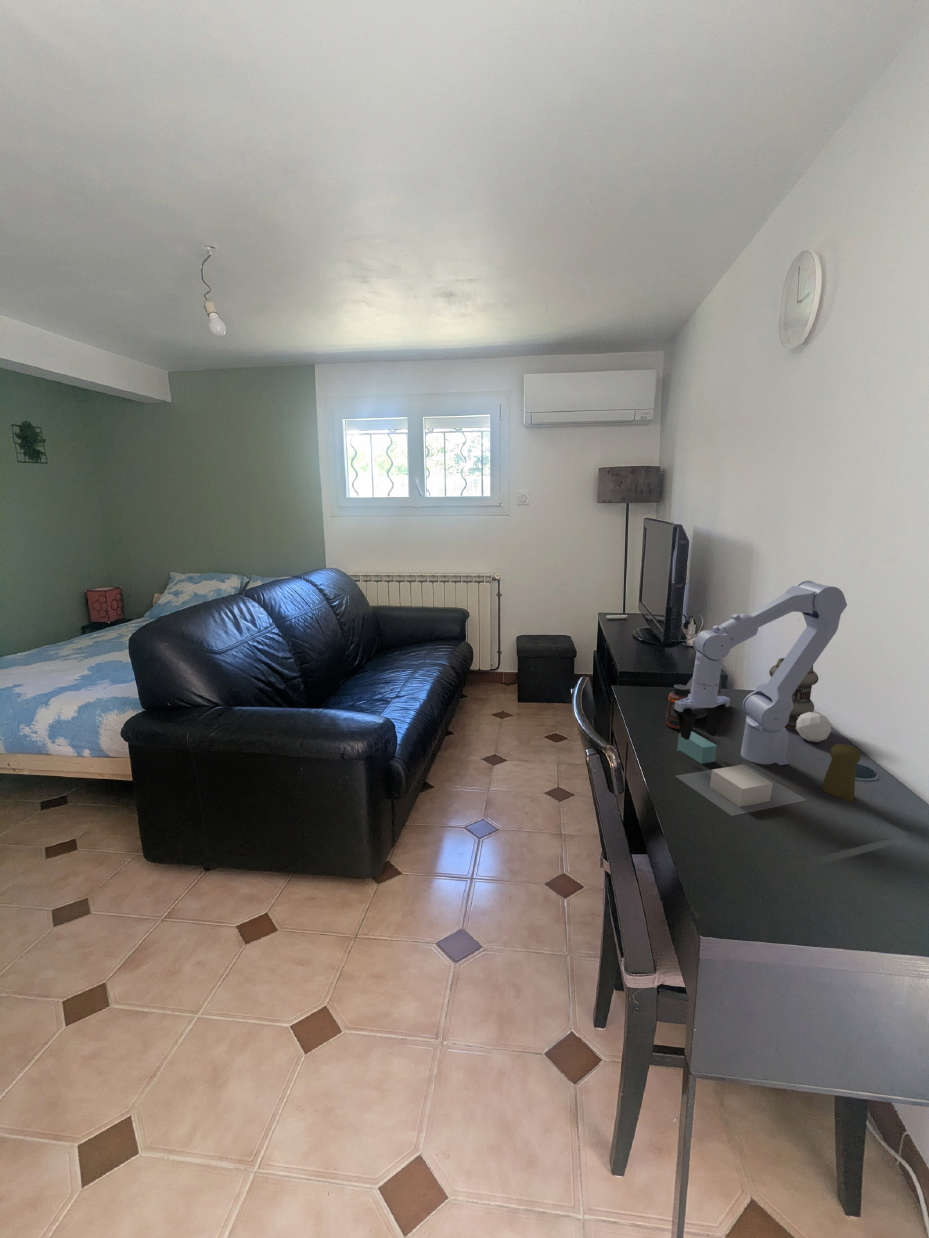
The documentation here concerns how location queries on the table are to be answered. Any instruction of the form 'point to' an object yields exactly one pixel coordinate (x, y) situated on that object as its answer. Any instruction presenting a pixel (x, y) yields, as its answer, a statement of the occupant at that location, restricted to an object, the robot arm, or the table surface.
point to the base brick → (741, 785)
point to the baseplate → (702, 786)
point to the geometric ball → (813, 726)
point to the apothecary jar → (799, 695)
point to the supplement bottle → (676, 695)
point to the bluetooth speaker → (701, 711)
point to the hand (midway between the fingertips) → (697, 736)
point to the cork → (842, 772)
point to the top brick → (697, 748)
